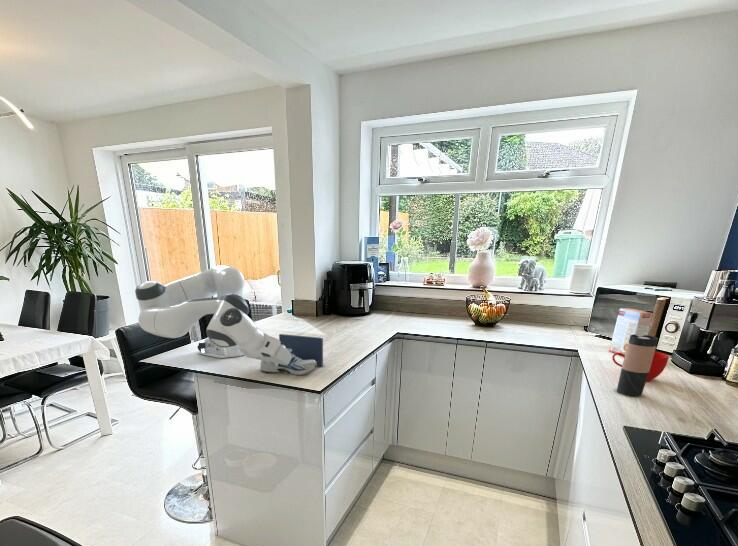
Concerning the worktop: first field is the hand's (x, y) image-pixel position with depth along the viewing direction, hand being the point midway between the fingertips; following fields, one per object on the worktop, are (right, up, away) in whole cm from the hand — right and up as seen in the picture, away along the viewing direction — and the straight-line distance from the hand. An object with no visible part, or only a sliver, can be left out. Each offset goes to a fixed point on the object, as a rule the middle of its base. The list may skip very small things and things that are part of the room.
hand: (275, 364), depth 148 cm
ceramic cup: (+139, -5, +6) cm, 139 cm away
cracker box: (+158, +6, +37) cm, 162 cm away
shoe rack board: (+8, +1, +21) cm, 22 cm away
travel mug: (+125, -11, -10) cm, 126 cm away
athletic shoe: (+4, -3, +11) cm, 12 cm away
